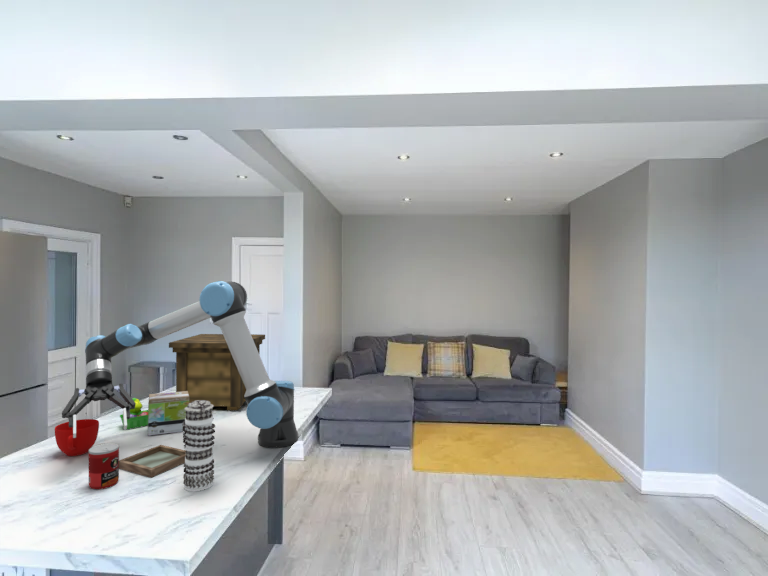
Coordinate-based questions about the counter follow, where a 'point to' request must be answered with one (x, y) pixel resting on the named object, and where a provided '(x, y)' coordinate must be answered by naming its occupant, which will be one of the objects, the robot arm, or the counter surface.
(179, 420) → the tea box
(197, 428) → the decorative candle
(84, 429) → the ceramic cup
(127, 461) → the tray
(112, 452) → the canned food
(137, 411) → the fruit basket
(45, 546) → the counter surface
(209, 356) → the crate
